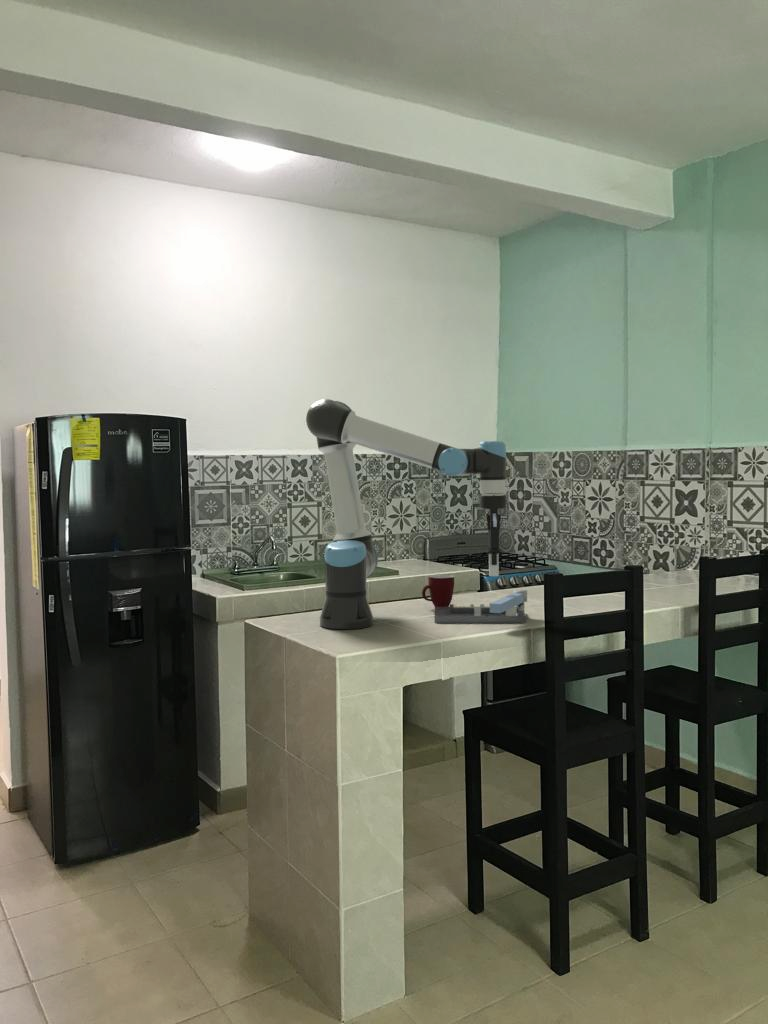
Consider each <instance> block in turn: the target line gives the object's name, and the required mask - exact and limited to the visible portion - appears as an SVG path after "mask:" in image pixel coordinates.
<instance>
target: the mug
mask: <svg viewBox="0 0 768 1024" xmlns="http://www.w3.org/2000/svg"><path fill="white" fill-rule="evenodd" d="M427 582H428V584H427V585H424V586H423V588H422V590H421V595H422V598H423V599H424V600H425V601H427V602H431V603H432V604H433V607H434V608H435V607H450V604H451V603H452V600H453V595H454V594H453V593H454V589H455V576H454V575H451V574H432V575H429V576H428V581H427ZM428 589H429V594H430V598H428V597H427V596H426V592H427V590H428Z"/></svg>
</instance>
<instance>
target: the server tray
mask: <svg viewBox="0 0 768 1024" xmlns="http://www.w3.org/2000/svg"><path fill="white" fill-rule="evenodd" d="M512 623H513V624H514V623H515V624H526V623H527V615H526V613H525V602H523V603H521V604H519V605H517V606H514V607H512V608H510V609H508V610H506V611H504V612H502V613H490V603H487V604H486V603H485V604H483V603H482V604H479V606H475V605H474V604H470V603H469V604H468V603H466V604H464V603H461V604H459V603H457V604H455V603H453V604H451V603H450V605H449V607H435V606H434V624H512Z"/></svg>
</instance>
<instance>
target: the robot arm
mask: <svg viewBox="0 0 768 1024" xmlns="http://www.w3.org/2000/svg"><path fill="white" fill-rule="evenodd" d="M305 421H306V425H307V428H308V431H309V432H310V433H311V434H312V435H313V436H314V437H315V438H316V442H317V449H318V450H319V451H320V452H321V453H323V455H324V461H325V467H326V474H327V478H328V479H327V480H328V485H329V492H330V496H331V503H332V510H333V511H332V512H333V517H334V522H335V528H336V535H334V537H333V539H332V542H330V543H328V544H327V545H326V547H325V549H324V557H323V559H324V569H325V570H324V573H325V575H324V576H325V577H324V578H325V580H324V581H325V598H324V602H323V606H322V610H321V613H320V617H319V625H320V627H322V628H326V629H330V630H331V629H332V630H354V629H363V628H368V627H371V626H373V625H374V615H373V613H372V610H371V606H370V604H369V600H368V597H367V578H370V577H371V576H372V575H373V573H374V572H375V571H376V568H377V566H378V563H379V556H378V555H379V554H378V551H377V550H376V547H375V546H374V543H373V538H372V533H371V531H369V530H367V528H366V525H365V518H364V513H363V506H362V499H361V494H360V488H359V481H358V475H357V469H356V462H355V455H354V448H355V447H356V446H357V445H358V446H362V447H365V448H368V449H370V450H373V451H376V452H379V453H383V454H385V455H389V456H391V457H392V456H393V457H395V458H398V459H400V460H404V461H407V462H410V463H413V464H416V465H419V466H422V467H426V468H428V469H432V470H435V471H437V472H439V475H443V476H445V475H446V476H448V477H449V476H450V477H457V476H460V475H461V476H462V475H464V476H465V475H479V476H480V477H479V493H480V495H481V496H479V499H480V500H479V501H480V502H479V503H480V504H479V506H480V509H484V510H485V509H486V510H487V509H488V514H485V516H486V517H485V518H486V519H485V520H486V529H487V531H488V532H487V533H488V534H487V535H488V538H487V539H488V542H487V543H488V548H487V549H488V551H486V554H487V555H488V571H489V572H488V576H489V577H500V574H499V573H500V570H499V569H500V567H499V566H500V563H499V562H500V561H499V557H500V556H499V555H500V554H501V550H500V530H501V519H502V517H501V514H499V509H506V508H507V496H506V495H505V494H506V493H507V487H508V486H509V483H508V482H507V449H506V447H507V446H506V443H504V441H501V440H498V441H497V440H494V441H493V440H492V441H489V440H488V441H485V440H484V441H480V442H479V446H478V447H476V448H458V447H454V446H450V445H447V444H444V443H441V442H437V441H435V440H432V439H429V438H426V437H423V436H420V435H416V434H413V433H410V432H408V431H404V430H402V429H399V428H396V427H392V426H389V425H386V424H383V423H379V422H377V421H374V420H371V419H369V418H365V417H361V416H358V415H357V414H356V412H355V411H354V410H352V408H351V407H350V406H349V405H348V404H346V403H344V402H342V401H339V400H333V399H330V398H329V399H328V398H325V399H319V400H318V401H317V400H316V401H315V402H314V403H312V405H310V407H309V409H308V410H307V413H306V420H305Z"/></svg>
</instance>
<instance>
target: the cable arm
mask: <svg viewBox="0 0 768 1024" xmlns="http://www.w3.org/2000/svg"><path fill="white" fill-rule="evenodd" d="M523 602H524V603H526V602H528V590H526V589H514V590H513V591H512V593H510V594H508V595H506V596H503V597H501V598H499V599H496V600H495V601H492V602H490V603H489V604H490V613H502V612H504V611H506V610H508V609H510V608H512V607H516V606H517V605H519V604H521V603H523Z"/></svg>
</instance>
